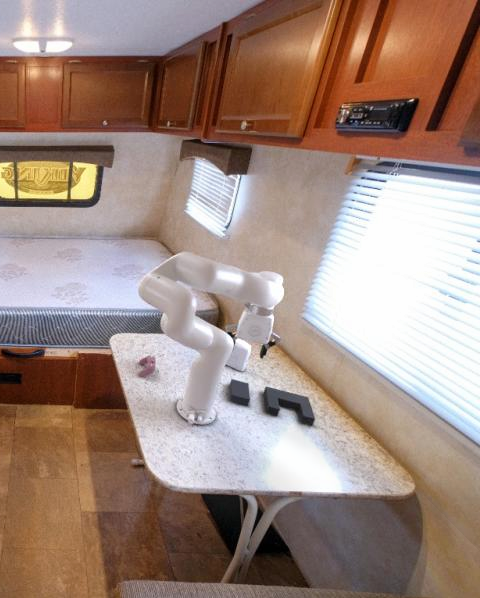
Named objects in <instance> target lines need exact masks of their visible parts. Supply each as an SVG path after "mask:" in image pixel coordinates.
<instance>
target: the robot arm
mask: <svg viewBox="0 0 480 598" xmlns="http://www.w3.org/2000/svg"><path fill="white" fill-rule="evenodd" d="M179 282H180V283H179ZM283 282H284V278H283V276H282V275H281V274H279V273H277V272H274V271H271V270H270V271H269V270H262V271H259V272H252V271H251V272H250V271H246V270H244V269H242V268H239V267H237V266H233V265H229V264H225V263H221V262H219V261H215V260H212V259H209V258H206V257H203V256H202V255H198V254H196V253H193V252H190V251H182V252H179V253H177V254H175V255H172V256H171V257H170V258H168V259H166V260H165V261H163V262H162V263H161V264H159V265H157V266H156V267H154V268H153V269H152V270H150V271H149V272H148V273H146V274H145V275H144V276H143V277H142V278H141V280H140V281H139V284H138V287H137V293H138V296H139V298H140V299H141V300H142V301H143V302H145V303H147V304H148V305H150V306H151V307H153V308H155V309H156V310H158V311H159V312H161V313H163V314H162V316H161V318H160V329H161V331H162V332H163V334H164V335H165V336H166V337H168V338H169V339H171V340H173V341H175V342H176V343H178V344H180V345H182V346H183V347H185V348H187V349H191V350H194V351H195V352H197V353H198V354H199V355H200V356H199V357H197V358H195V359H194V360H193V361H192V363H191V365H190V369H189V374H188V378H187V382H186V386H185V390H184V394H183V397H181V398H180V399H179V400H177V403H176V410H177V412H178V414H179V415H180V416H181V417H182V418H183V419H184V420H186V421H187V423H188V424H189V425H194V424H196V425H209V424H211V423H213V422H214V421H215V419H216V415H217V414H216V410H215V408H214V404H215V401H216V397H217V393H218V390H219V386H220V384H221V383H220V382H221V379H222V375H223V372H224V369H225V367H226V362H227V360H228V358H229V356H230V354H231V353H232V351H233V350H234V346H235V343H236V341H235V340H236V339H241V340H243V341H245V342H246V341H247V342H251V343H256V344H261V345H262V346H261V348H260V350H259V351H260V352H259V357H260V359H262V360H263V359H264V356H267V352H268V350H269V349H270V348H272V347H275V346H276V344H278V343H280V341H281V340H282V339H281V337H280V335H278V334H277V333H275V332H274V331H273V326H274V320H275V315H274V314H273V313H274V309H275V307H276V306H277V305H278V304H279V303H280V302H281V301H283V298H284V294H285V290H284V287H283ZM181 283H182V284H181ZM185 285H186V286H189V287H191V288H193V289H195V290H197V291H201V292H205V293H210V294H215V295H220V296H225V297H228V298H230V299H234V300H238V301H242V302H243V304H242V305H243V307H245V308H244V310H243V311H242V313H241V315H240V317H239V320H238V322H237V323H232V324H227V325H225V331H224V330H222V329H221V328H219V327H217V326H215V325H213V324H211V323H209V322H208V321H206V320H204V319H202V318H201V317H199V316H198V315H196V313H197V308H198V301H197V298H196V296H195V294H194V293H193V292H192V290H190V289H189V288H188V287H186V286H185ZM231 330H235V331H234V333H233V332H232V331H231ZM271 337H272V338H273V339H272V340H270V339H271Z"/></svg>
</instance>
